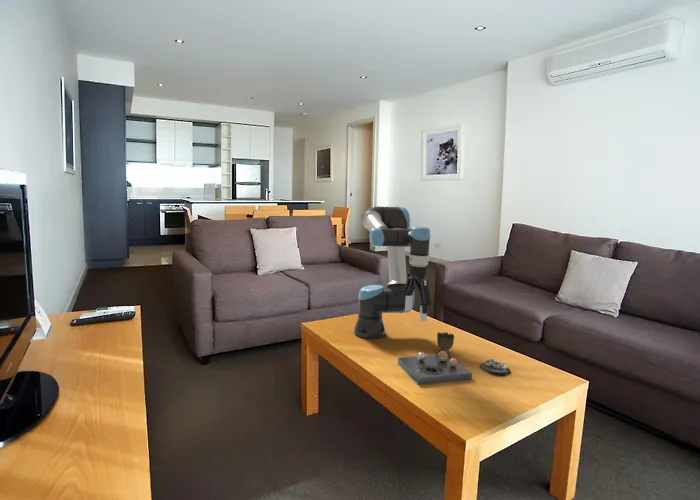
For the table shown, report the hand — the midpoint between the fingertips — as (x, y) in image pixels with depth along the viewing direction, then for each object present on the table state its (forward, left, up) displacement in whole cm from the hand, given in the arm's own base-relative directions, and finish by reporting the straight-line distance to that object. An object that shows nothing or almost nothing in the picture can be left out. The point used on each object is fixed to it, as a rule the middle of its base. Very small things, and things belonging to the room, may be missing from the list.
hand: (415, 315), depth 174 cm
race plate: (+14, +3, -19) cm, 23 cm away
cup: (-3, +17, -19) cm, 25 cm away
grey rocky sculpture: (+17, +28, -19) cm, 38 cm away
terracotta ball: (+16, +10, -14) cm, 24 cm away
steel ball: (+9, 0, -14) cm, 17 cm away
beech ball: (+11, +8, -14) cm, 19 cm away
